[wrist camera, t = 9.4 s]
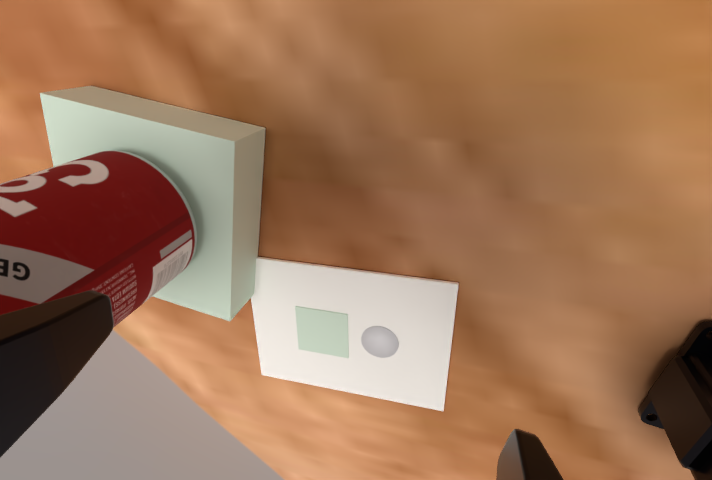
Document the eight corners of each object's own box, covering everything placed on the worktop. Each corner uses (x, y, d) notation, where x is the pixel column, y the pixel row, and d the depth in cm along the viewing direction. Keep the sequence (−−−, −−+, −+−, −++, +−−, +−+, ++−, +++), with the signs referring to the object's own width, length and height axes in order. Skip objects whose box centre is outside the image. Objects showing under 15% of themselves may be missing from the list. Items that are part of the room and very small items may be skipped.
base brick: (265, 127, 21) (234, 141, 18) (255, 291, 26) (230, 321, 23) (91, 85, 22) (39, 93, 20) (112, 247, 27) (73, 270, 24)
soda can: (231, 236, 20) (-28, 451, 10) (153, 290, 23) (-108, 498, 13) (134, 117, 19) (-288, 225, 8) (64, 191, 22) (-311, 337, 12)
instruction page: (458, 282, 22) (458, 285, 21) (443, 408, 26) (443, 412, 25) (246, 255, 24) (244, 257, 24) (262, 372, 28) (260, 375, 28)
